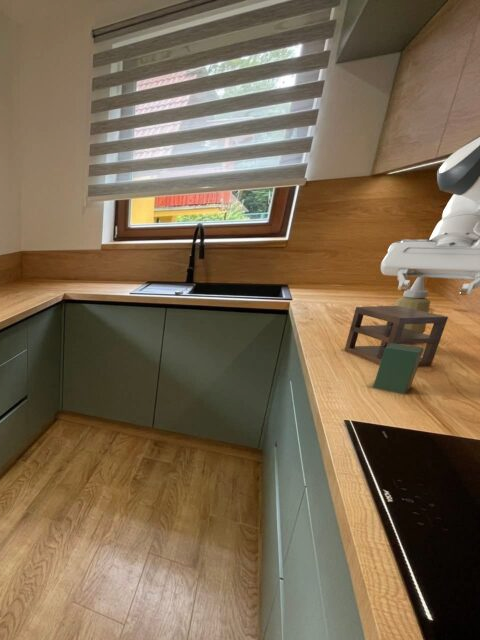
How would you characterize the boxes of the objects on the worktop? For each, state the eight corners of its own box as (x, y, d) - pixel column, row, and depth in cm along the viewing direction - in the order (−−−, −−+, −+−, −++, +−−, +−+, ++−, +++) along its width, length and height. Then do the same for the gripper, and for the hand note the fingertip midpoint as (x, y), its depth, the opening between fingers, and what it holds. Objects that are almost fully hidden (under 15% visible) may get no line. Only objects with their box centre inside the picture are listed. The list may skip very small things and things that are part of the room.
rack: (384, 349, 115) (397, 305, 111) (431, 366, 102) (448, 316, 98) (344, 350, 117) (355, 306, 112) (385, 366, 104) (400, 318, 99)
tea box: (379, 382, 95) (391, 343, 92) (410, 388, 91) (424, 347, 88) (372, 387, 92) (385, 347, 89) (404, 394, 88) (418, 352, 85)
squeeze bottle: (393, 336, 126) (412, 274, 120) (427, 342, 119) (450, 277, 113) (374, 339, 124) (392, 276, 118) (408, 346, 117) (430, 279, 111)
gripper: (393, 230, 99) (368, 277, 97) (535, 229, 83) (508, 285, 81) (393, 248, 103) (369, 295, 101) (527, 251, 87) (502, 305, 85)
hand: (432, 291), depth 91 cm, fingers open, 8 cm apart
